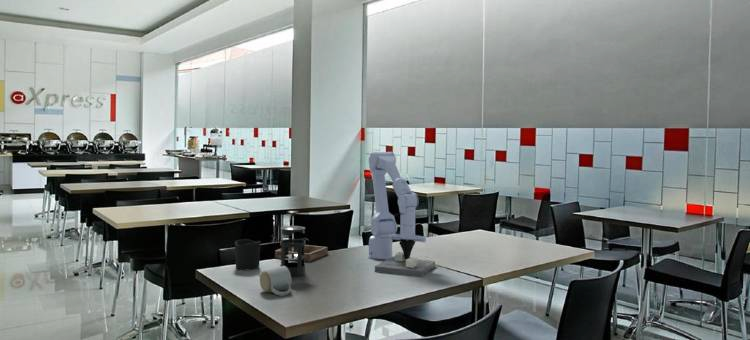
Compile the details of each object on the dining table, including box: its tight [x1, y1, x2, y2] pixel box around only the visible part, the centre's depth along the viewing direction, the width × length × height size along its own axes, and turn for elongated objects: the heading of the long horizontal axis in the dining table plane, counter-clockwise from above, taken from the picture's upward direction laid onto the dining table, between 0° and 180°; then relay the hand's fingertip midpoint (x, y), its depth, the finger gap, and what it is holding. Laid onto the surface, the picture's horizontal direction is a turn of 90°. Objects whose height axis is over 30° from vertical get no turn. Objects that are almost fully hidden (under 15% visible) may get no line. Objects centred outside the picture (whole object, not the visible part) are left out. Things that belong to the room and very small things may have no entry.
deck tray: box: [274, 244, 329, 262], centre depth 233 cm, size 16×16×3 cm
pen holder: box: [234, 239, 261, 271], centre depth 211 cm, size 9×9×10 cm
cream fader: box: [406, 257, 418, 268], centre depth 207 cm, size 3×4×2 cm, turn 158°
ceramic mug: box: [259, 266, 292, 297], centre depth 178 cm, size 11×8×8 cm
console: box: [374, 257, 436, 278], centre depth 212 cm, size 18×18×2 cm
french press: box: [279, 210, 307, 278], centre depth 202 cm, size 12×9×23 cm
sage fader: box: [394, 251, 406, 261], centre depth 217 cm, size 3×4×2 cm, turn 158°
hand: (407, 259), depth 216 cm, fingers closed
